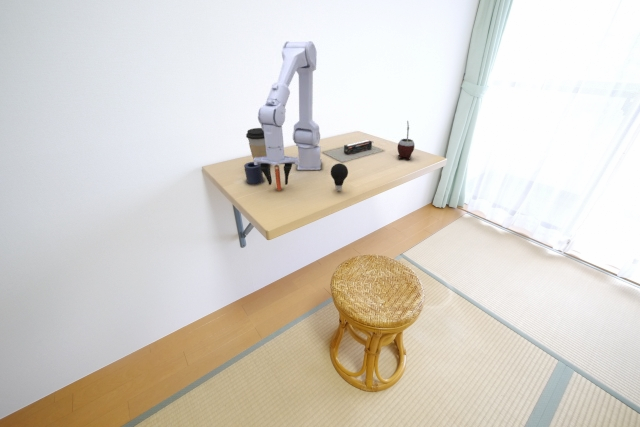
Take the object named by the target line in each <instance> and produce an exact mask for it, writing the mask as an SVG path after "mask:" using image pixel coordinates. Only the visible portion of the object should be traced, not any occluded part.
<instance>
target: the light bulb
mask: <svg viewBox="0 0 640 427" xmlns="http://www.w3.org/2000/svg"><path fill="white" fill-rule="evenodd" d="M348 175H349V169H348V167H347V166H346V165H345V164H343V163H341V162H340V163H335V164H334V165H333V166H331V169H330V177H331V178H332V179H333V181H334V189H335V191H337V192H340V191H342V190H343V185H344V182H345V180H346V178H347V177H348Z"/></svg>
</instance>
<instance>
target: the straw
mask: <svg viewBox="0 0 640 427" xmlns="http://www.w3.org/2000/svg"><path fill="white" fill-rule="evenodd" d="M274 174H275V183H276V184H275V185H276V191H281V190H282V182H281V173H280V164H277V165H274Z"/></svg>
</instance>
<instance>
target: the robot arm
mask: <svg viewBox="0 0 640 427" xmlns="http://www.w3.org/2000/svg"><path fill="white" fill-rule="evenodd" d="M281 58H282V64H281V67H280V72H279V75H278V79H277V82H274V83H273V84H272V85H271V88H270V91H269V93H268V96H267V98H266V101H265V103H264V104H263V105H262V106H261V107H259V109H258V112H257V113H258V114H257V120H258V122H259V124H260V126H261V127H260V128H262V130H263V131H264V137H265V145H266V153H267V156H266V157H255V158H254V160H253V162H254V165H258V164H261V167H260V169H261V171H262V172H263V176H265V178H266V180H267V183H268V185H269V186H271V185H272V183H273V179H272V173H271V166H275V165H283V171H284V173H283V174H284V185H285V186H287V185H288V184H289V177H290V176H289V175H290V172H291V171H292V167H293V165H294V166H297V168H296V169H297V170H298V171H320V170H321V168H322V167H321V164H322V158H321V156H322V155H321V145H319V144H320V141H321V133H320V125H319V124H318V123H316V122H315V121H314V120H313V101H314V100H313V99H314V98H313V93H314V88H313V87H314V85H313V84H314V72H315V71H316V70H317V48H316V45H315V43H314V42H313V41H311V40H308V41H285V42H284V43H283V45H282V50H281ZM296 73H297V74H298V121H297V122H296V123H295V124H294V125H293V131H292V141H293V143H294V144H295V146H296V147H297V156H288V155H285V147H284V146H285V145H284V134H283V125H284V123H285V122H286V112H287V110H286V105H287V102H288V100H289V97H290V94H291V91H290V88H289V87H290V84H291V82H292V81H293V78H294V76H295V74H296Z"/></svg>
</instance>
